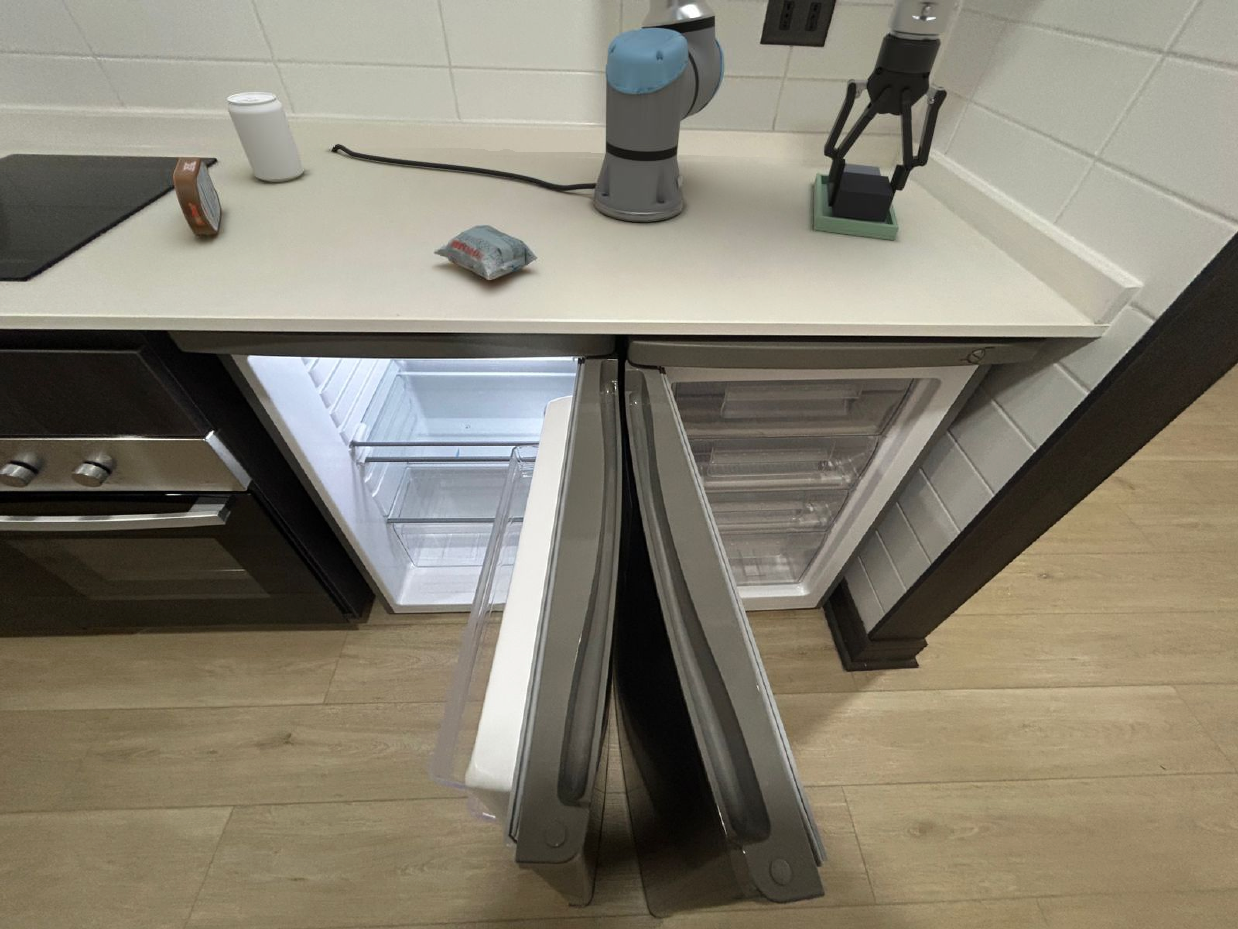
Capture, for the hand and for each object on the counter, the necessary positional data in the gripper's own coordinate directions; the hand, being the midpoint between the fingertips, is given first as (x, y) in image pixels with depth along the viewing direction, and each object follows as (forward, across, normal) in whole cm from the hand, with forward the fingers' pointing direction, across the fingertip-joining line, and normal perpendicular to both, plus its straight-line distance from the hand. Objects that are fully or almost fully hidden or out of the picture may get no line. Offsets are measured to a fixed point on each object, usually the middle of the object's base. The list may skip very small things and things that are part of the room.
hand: (857, 206), depth 91 cm
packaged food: (+2, -51, -35) cm, 62 cm away
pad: (+2, 0, +10) cm, 10 cm away
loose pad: (0, 0, 0) cm, 0 cm away
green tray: (+2, 0, +5) cm, 6 cm away
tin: (+2, -96, -34) cm, 102 cm away
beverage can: (+2, -100, -13) cm, 101 cm away
